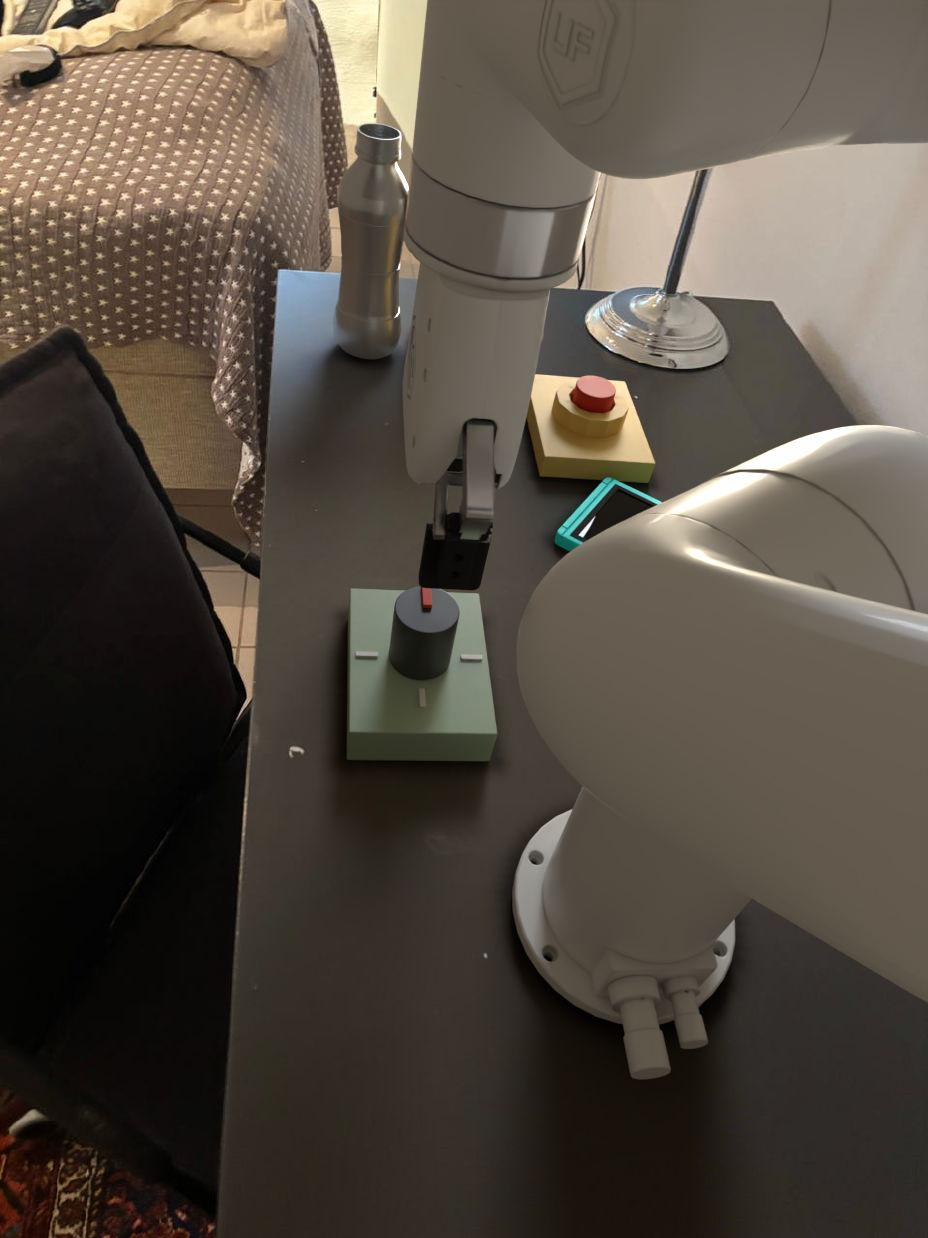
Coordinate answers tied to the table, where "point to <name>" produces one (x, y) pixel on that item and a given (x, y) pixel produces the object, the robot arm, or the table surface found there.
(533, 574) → the table surface
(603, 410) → the button
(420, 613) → the knob
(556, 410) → the button block
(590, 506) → the handheld game console
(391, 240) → the silver metal bottle
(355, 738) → the panel
